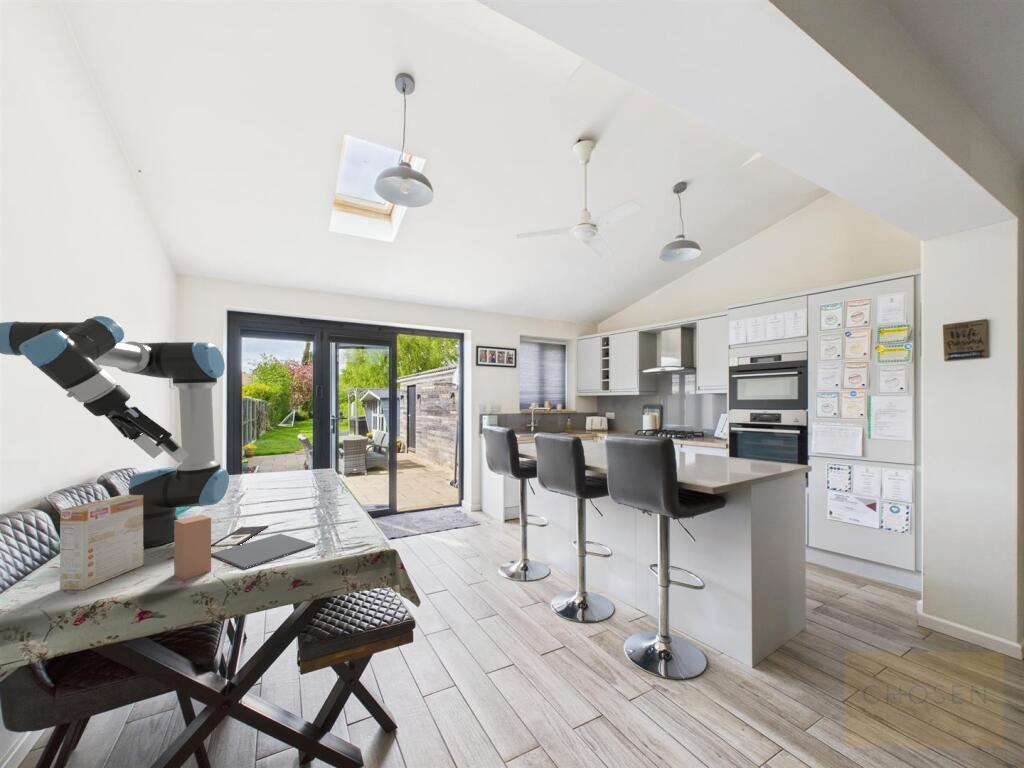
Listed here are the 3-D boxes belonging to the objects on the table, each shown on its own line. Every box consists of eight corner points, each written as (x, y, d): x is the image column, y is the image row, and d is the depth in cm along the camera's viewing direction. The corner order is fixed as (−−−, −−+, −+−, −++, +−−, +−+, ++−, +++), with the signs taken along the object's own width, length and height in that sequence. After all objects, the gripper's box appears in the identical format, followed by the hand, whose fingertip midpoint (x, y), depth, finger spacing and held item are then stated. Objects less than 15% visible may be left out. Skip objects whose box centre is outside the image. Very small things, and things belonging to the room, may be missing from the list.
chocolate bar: (268, 525, 147) (241, 543, 129) (268, 528, 147) (241, 546, 129) (241, 527, 146) (210, 545, 128) (241, 530, 146) (210, 548, 128)
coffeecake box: (121, 565, 115) (122, 494, 116) (144, 565, 115) (145, 494, 115) (57, 589, 100) (58, 508, 101) (83, 590, 100) (84, 508, 100)
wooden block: (174, 574, 108) (174, 520, 108) (201, 566, 113) (201, 514, 113) (183, 579, 104) (183, 523, 105) (211, 571, 110) (211, 517, 110)
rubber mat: (210, 555, 121) (210, 553, 121) (280, 535, 138) (280, 533, 138) (244, 569, 110) (244, 567, 110) (315, 545, 127) (315, 543, 127)
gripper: (62, 403, 98) (134, 463, 109) (104, 406, 86) (181, 473, 97) (95, 383, 103) (161, 442, 114) (140, 383, 91) (209, 449, 103)
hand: (170, 456), depth 106 cm, fingers open, 13 cm apart
